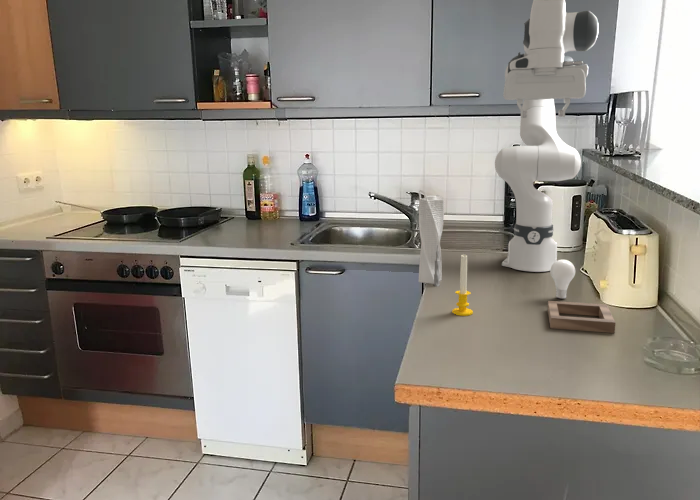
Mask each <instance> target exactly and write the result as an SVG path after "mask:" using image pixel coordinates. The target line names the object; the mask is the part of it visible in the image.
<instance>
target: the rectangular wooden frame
mask: <svg viewBox="0 0 700 500" xmlns="http://www.w3.org/2000/svg"><path fill="white" fill-rule="evenodd" d="M547 314H548V322H549V327H550V329H556V330H557V329H558V330H569V331H570V330H572V331H582V332H584V331H585V332H596V333H597V332H598V333H609V334H610V333H612V334H615V331H616V321H615V319H614V317H613V314H612V312H611V310H610V308H609V306H608V305H607V304H605V303H603V304H602V303H589V302H588V303H587V302H573V301H556V300H555V301H554V300H548V301H547ZM560 314H561V315H560ZM562 314H565V316H563V315H562ZM566 315H580V316H579V317H577V316H566ZM581 316H593V317H594V318H593V317H581ZM595 317H598V318H595Z"/></svg>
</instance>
